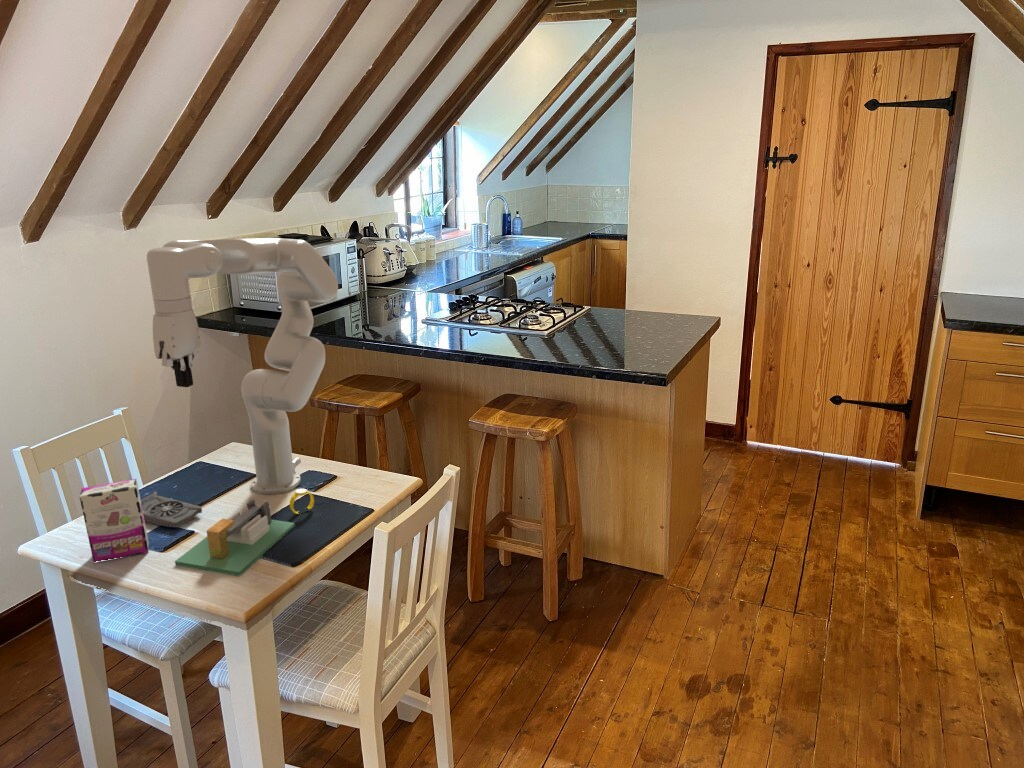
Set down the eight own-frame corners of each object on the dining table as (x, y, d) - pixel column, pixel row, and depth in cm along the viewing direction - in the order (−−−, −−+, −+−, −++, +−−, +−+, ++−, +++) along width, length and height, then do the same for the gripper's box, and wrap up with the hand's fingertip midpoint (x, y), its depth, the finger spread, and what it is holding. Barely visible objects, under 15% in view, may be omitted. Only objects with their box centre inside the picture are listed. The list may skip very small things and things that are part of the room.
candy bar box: (149, 542, 177) (137, 477, 172) (149, 553, 173) (137, 486, 168) (94, 553, 173) (80, 486, 168) (92, 564, 169) (78, 496, 164)
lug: (226, 544, 174) (222, 518, 172) (237, 546, 173) (234, 520, 171) (210, 557, 169) (206, 530, 167) (222, 559, 168) (218, 532, 166)
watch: (310, 507, 194) (310, 485, 192) (316, 511, 192) (315, 489, 190) (288, 514, 190) (287, 491, 188) (293, 518, 188) (293, 495, 186)
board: (236, 518, 188) (233, 494, 186) (295, 526, 184) (292, 503, 182) (175, 565, 168) (171, 539, 166) (239, 576, 164) (236, 550, 162)
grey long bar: (255, 507, 184) (254, 503, 183) (264, 508, 183) (263, 504, 183) (217, 536, 170) (216, 532, 170) (226, 538, 170) (225, 534, 169)
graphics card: (114, 512, 185) (154, 490, 195) (117, 525, 186) (156, 503, 197) (166, 526, 179) (205, 503, 189) (169, 540, 180) (207, 516, 190)
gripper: (181, 297, 176) (192, 374, 182) (133, 312, 162) (147, 395, 168) (209, 299, 174) (220, 377, 180) (164, 314, 160) (176, 398, 166)
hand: (185, 385), depth 174 cm, fingers closed
